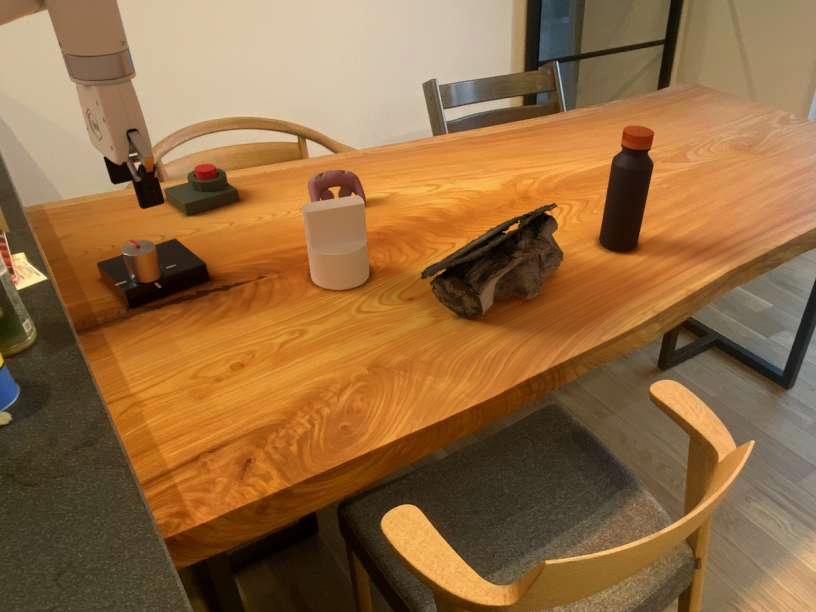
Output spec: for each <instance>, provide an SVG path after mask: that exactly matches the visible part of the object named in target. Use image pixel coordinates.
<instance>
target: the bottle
mask: <svg viewBox="0 0 816 612" xmlns="http://www.w3.org/2000/svg"><path fill="white" fill-rule="evenodd" d="M654 136H655V131H654V130H653V129H651V128H649V127H647V126H643V125H628V126H625V127H623V129H622V135H621V141H620V147H621V150H620V151H619V152H618V153H617V154H615V155H614V156H613V157H612V160H611V164H610V169H609V170H610V171H609V177H608V181H607V182H608V183H607V190H606V194H605V195H606V196H605V201H604V202H605V203H604V207H603V214H602V219H601V224H600V231H599V238H598V242H599V244H600V245H601V246H602V247H603V248H604V249H606V250H608V251H611V252H616V253H628V252H632V251H634V250H635V249H637V248H638V243H639V239H640V235H641V234H640V233H641V230H642V225H643V220H644V215H645V210H646V206H647V205H646V204H647V199H648V195H649V190H650V187H651V186H650V185H651V181H652V177H653V172H654V167H655V166H654V165H655V164H654V161H653V159H652V158H651V156H650V155H649V152H650V151H651V150H652V147H653V142H654Z"/></svg>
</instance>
